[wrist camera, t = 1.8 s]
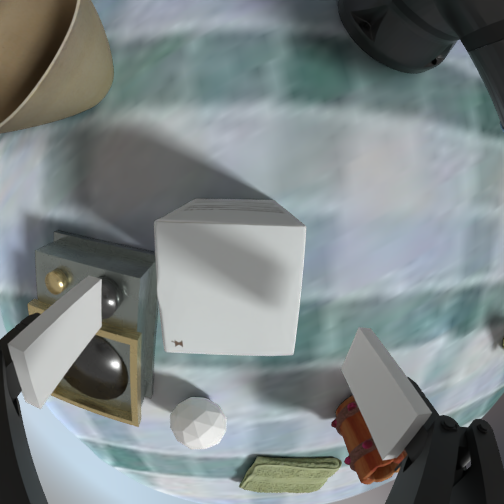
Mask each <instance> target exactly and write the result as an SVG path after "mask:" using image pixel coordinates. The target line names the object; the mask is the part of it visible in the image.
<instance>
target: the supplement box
mask: <svg viewBox="0 0 504 504" xmlns="http://www.w3.org/2000/svg"><path fill="white" fill-rule="evenodd" d="M154 237H155V257H156V274H157V297H158V301H159V309H160V318H161V327H162V337H163V344H164V350H165V351H166V352H176V353H196V354H219V355H250V356H279V355H293V353H294V347H295V339H296V331H297V323H298V315H299V306H300V296H301V287H302V276H303V265H304V253H305V239H306V226H305V225H304V224H303V223H302V222H300V221H299V220H298V219H297V218H296V217H294V216H293V215H292V214H291V213H289V212H288V211H287V210H286V209H285V208H283V207H282V206H281V205H280V204H278V203H277V202H276V201H274V200H255V199H194V200H192V201H190V202H188V203H187V204H185V205H183V206H181V207H180V208H178V209H176V210H174V211H172V212H171V213H169V214H167V215H165V216H163V217H162V218H160V219H157V220H155V222H154Z"/></svg>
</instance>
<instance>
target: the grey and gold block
mask: <svg viewBox="0 0 504 504" xmlns="http://www.w3.org/2000/svg"><path fill="white" fill-rule="evenodd" d="M35 264H36V284H37V296H38V300H37V299H33V300H32V301H31V302H29V303H28V311H29V315H32V314H34V313H37V312H38V313H40V314H42V313H43V312H44V311H45V310H47V309H48V308H49V307H50V306H51V305H53V304H54V303H55V302H56V301H57V300H59V299H60V298H61V297H62V296H63V295H65V294H66V293H67V292H68V291H70V290H71V289H72V288H73V287H75V286H76V285H77V284H78V283H80V282H81V281H82V280H83V279H85V278H86V277H87V276H93V277H97V278H100V279H102V287H101V317H102V327H101V328H100V329H99V330H98V332H97V333H96V334H95V335H94V337H93V338H92V339H91V341H90V342H89V343H88V345H87V346H86V347H85V348H84V350H83V351H82V352H81V354H80V355H79V356H78V358H77V359H76V360H75V362H74V363H73V364H72V366H71V367H70V368H69V370H68V371H67V373H66V374H65V375H64V377H63V378H62V379H61V381H60V382H59V384H58V385H57V386H56V388H55V389H54V391H53V392H52V394H51V395H52V396H54V397H56V398H58V399H61V400H63V401H65V402H68V403H70V404H73V405H75V406H78V407H80V408H83V409H85V410H88V411H91V412H93V413H96V414H99V415H102V416H105V417H108V418H111V419H114V420H117V421H120V422H123V423H127V424H130V425H134V426H137V427H139V424H140V421H141V406H142V403H143V400H144V398H145V397H147V398H152V395H153V375H154V356H155V341H156V328H157V316H158V306H159V301H158V297H157V274H156V257H155V252H152V251H147V250H142V249H138V248H133V247H129V246H124V245H120V244H115V243H111V242H107V241H102V240H98V239H94V238H89V237H85V236H81V235H76V234H72V233H68V232H64V231H59V230H58V231H55V232H54V242H52V243H50V244H48V245H46V246H44V247H42V248H40V249H37V250H35Z"/></svg>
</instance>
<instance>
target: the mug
mask: <svg viewBox="0 0 504 504" xmlns="http://www.w3.org/2000/svg"><path fill="white" fill-rule="evenodd" d="M331 425H332V427H334V428H336V429H337V432H338V433H339V434H340V435H341V436H343V438H344V441H345V444H346V447H347V450H348V453H349V456H348V457H347V458H346V459H345V461H344V462H345V463H346V464H348V465H350V468H351V469H352V470H353V471H355V472H357V474H358V477H359V479H360V481H361V483H364V484H371V483H372V482H382V481H384V480H386V479H388V478H390V477H392V475H393V474H394V472H399V470H400V468H398V469H397V471H394V469H395V468H396V467H397V466H398V465H399V463H400V462H401V461H402V460H403V459H404V458H405V457H406V456H407V452H406V451H405V449H404V450H403V451H402V453H401V454H400V455H399V456H398V457H397V458H394V459H388V460H382V458H381V456H380V454H379V451H378V449H377V447H376V445H375V442H374V440H373V438H372V436H371V433H370V431H369V429H368V427H367V425H366V422H365V420H364V418H363V416H362V414H361V411H360V409H359V407H358V405H357V403H356V401H355V398H354V396H353V395H352V396H350V397H349V398H348V399H346V400H345V401H344V402H343V403H342V404H340V406H339V407H338V408H337V410H336V419H335V420H334V421H333V422H332V424H331Z"/></svg>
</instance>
